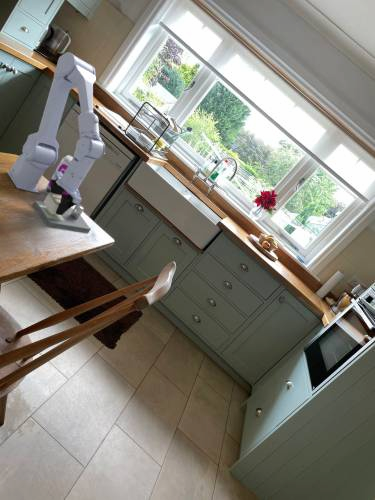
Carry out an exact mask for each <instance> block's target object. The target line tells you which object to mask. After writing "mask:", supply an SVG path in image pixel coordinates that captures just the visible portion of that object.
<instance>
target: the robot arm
mask: <svg viewBox="0 0 375 500" xmlns="http://www.w3.org/2000/svg"><path fill="white" fill-rule="evenodd" d="M96 81H97V77H96V69H95V67H94V66H93V65H92V64H90V63H88V62H86V61H84V60H83V59H81V58H80V57H77V56H76V55H74V54H73V53H72V52H70V51H69V52H68V51H67V52H65V53H63V54H62V55H60V56H59V58H58V60H57V64H56V68H55V70H54V74H53V78H52V82H51V87H50V90H49V92H48V97H47V100H46V104H45V106H44V110H43V115H42V117H41V119H40V120H41V121H40V124H39V128H38V131H37V132H34V133H31V134H29V135H28V136H27V138H26V141H25V143H24V144H23V145H22V154H20V155H18V157H16V159H15V161H14V164H13V165H12V168H11V169H10V171H9V170H7V171H6V172H7V175H8V177H10V179H11V181H12V183H13V184H14V186H15V187H16V188H17V189H20V190H22V191H23V190H24V191H28V192H32V193H37V194H39V193H40V191H39V190H38V188H37V185H38V184H39V181H41V178H42V176H43V175H44V173H45V171H46V170H47V169H49V168H50V166H51V167H52V166H54V165H55V164H57V161H58V159H59V149H60V145H59V142H58V141H57V139H56V137H57V134H58V130H59V128H60V127H59V126H60V123H61V120H62V118H63V114H64V111H65V108H66V107H65V106H66V103H67V100H68V97H69V94H70V91H71V90H73V89H77V95H78V100H79V106H80V114H79V115H78V116H77V122H78V132H79V133H78V134H79V139H77V141H76V144H75V150H74V151H73V159H72V161H71V162H70V164H69V166H68V167H67V169H66V171H65V172H64V174H62V172H59V171H56V170H55V171H56V172H55V171H54V173H55V174H54V173H53V174H54V177H55V178H57V179H56V180H51V179H50V180H51V190H50V193H54V194H59V195H61V194H62V193H63V192H64V191H65V190H66V191H67V193H68V195H65V194H62V195H61V201H60V204H59V206H58V208H57V210H56V214H58V215H63V214H64V213H65V212H66V211H67V210H68V209H69V208H72V207H75V206H76V205H77V204H80V203H81V202H82V201H83V199H82V197H81V194H80V191H79V187H80V186H81V185H82V183H83V181H84V179H85V178H86V177H87V174H88V173H89V171H90V170H91V168H92V166H93V164H94V163H95V162H96V160H101V159H102V158H103V156H104V154H105V152H106V144H105V143H104V141H103V140H102V137H101V135H100V126H99V124H100V121H99V120H100V119H99V117H98V115H97V114H95V113H94V94H93V93H94V87H93V85H94V84H95V83H96Z"/></svg>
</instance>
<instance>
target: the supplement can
mask: <svg viewBox="0 0 375 500" xmlns="http://www.w3.org/2000/svg"><path fill="white" fill-rule="evenodd" d="M73 157H74V155H73V156H72V155H70V154H68V155H66V156H64V157H62V159H61V161H60V162H59V164H58V166H57V168H56V170H55V171H54V172H53V175H52V176H51V178H50V180H49V181H48V184H47V185H46V187H45V194H46V196H47V195H48V194H49V192H50V190H51V180H56V179H57V178H55V177H54V174H55V172H56V171H59V172H62V174H64V172H65V171H66V169H67V167H68V166H69V164H70V162H71V161H72V159H73ZM62 194H65V195H68V193H67V191H66V190H65V191H64V192H63V193H62ZM62 194H61V195H62Z"/></svg>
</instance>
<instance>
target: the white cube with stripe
mask: <svg viewBox="0 0 375 500" xmlns="http://www.w3.org/2000/svg"><path fill="white" fill-rule="evenodd" d="M60 201H61V195H59V194H54V193H50V192H49V194H48V195H47V194H46V197H45V199H44V201H42V202H43V203H44V205H45V206H46V208H47V209H48V210H49V212H50V213H51V214H56V210H57V208H58V206H59V204H60ZM69 209H70V208H69ZM69 209H68V210H67V211H66V212H65V213H64V214H63V215H62V216H65V215H66V214H67V212H68V211H69ZM57 215H58V214H57Z"/></svg>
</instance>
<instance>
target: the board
mask: <svg viewBox="0 0 375 500" xmlns="http://www.w3.org/2000/svg"><path fill="white" fill-rule="evenodd" d="M43 202H44V201H39V200H34V201H33V204H32V205H33V207H34V208H35V209H36V211H37V213H38V214H39V216H40V218H41V219H42V220H43V222H44V223H45V225H46V226H47V227H50V228H56V229H57V228H58V229H64V230H69V231H76V232H77V231H78V232H82V233H87V234H88V233H90V231H91V228H90V226H89V225H88V223H87V222H86V220H85V219H84V218H83V217H82V214H81V215H80V216H79V218H78V220H74V219H72V218H71V217H70V214H71V213H72V211H73V209H74V208H72V207H71V208H70V209H69V211H68V212H67V214H66V215H65V216H62V215H57V214H51V213H50V212H49V210H48V209H47V208H46V206H45V205H44V203H43Z"/></svg>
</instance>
